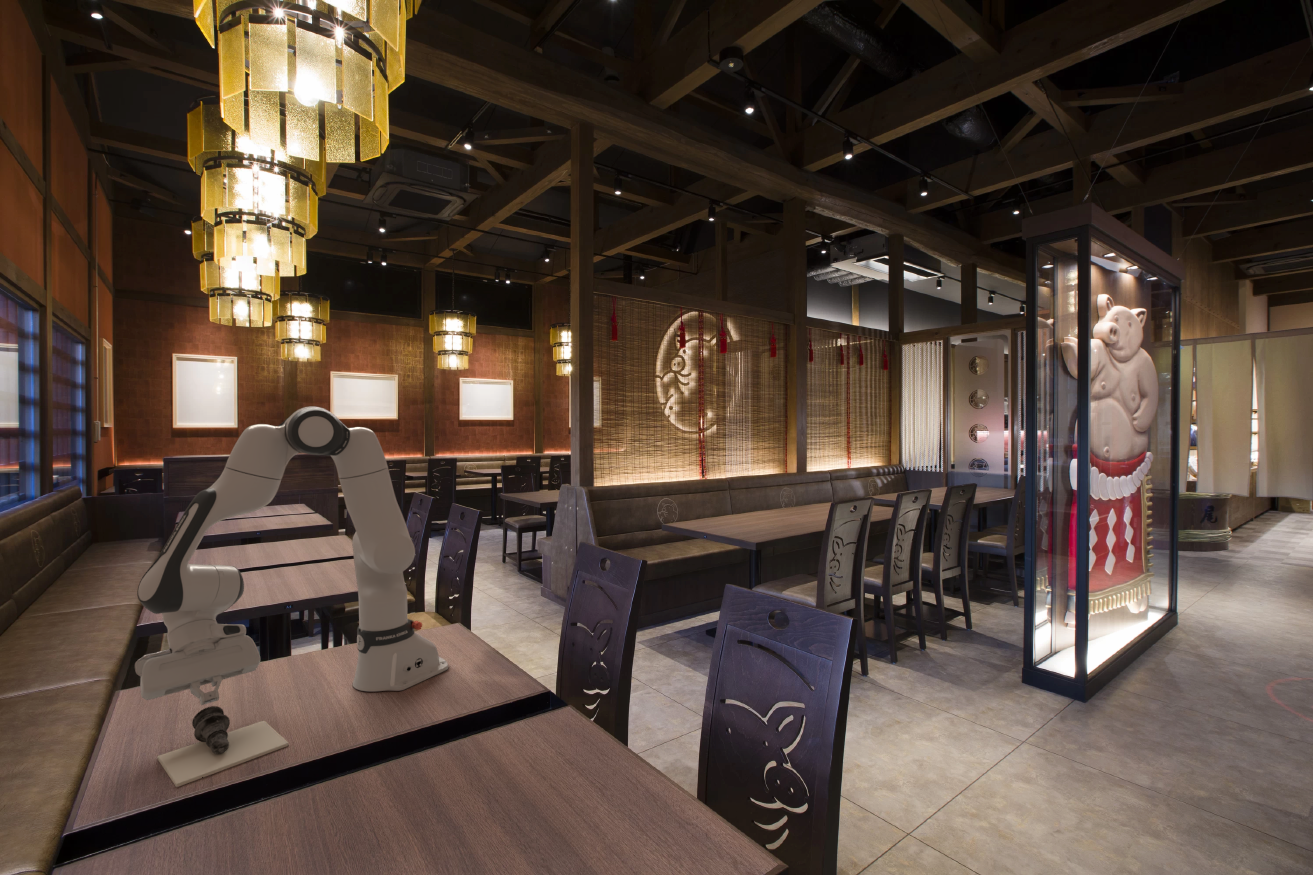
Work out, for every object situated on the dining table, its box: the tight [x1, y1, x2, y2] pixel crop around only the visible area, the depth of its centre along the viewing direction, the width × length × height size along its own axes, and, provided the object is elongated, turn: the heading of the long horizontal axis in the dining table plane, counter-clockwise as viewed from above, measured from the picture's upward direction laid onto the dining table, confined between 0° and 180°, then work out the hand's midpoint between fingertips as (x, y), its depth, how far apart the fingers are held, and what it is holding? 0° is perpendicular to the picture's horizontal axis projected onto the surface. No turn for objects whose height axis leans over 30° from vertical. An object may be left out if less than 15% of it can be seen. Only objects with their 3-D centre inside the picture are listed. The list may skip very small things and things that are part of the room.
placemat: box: [157, 720, 290, 788], centre depth 119 cm, size 18×14×1 cm
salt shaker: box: [191, 705, 231, 754], centre depth 120 cm, size 6×6×12 cm
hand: (210, 701), depth 124 cm, fingers closed
